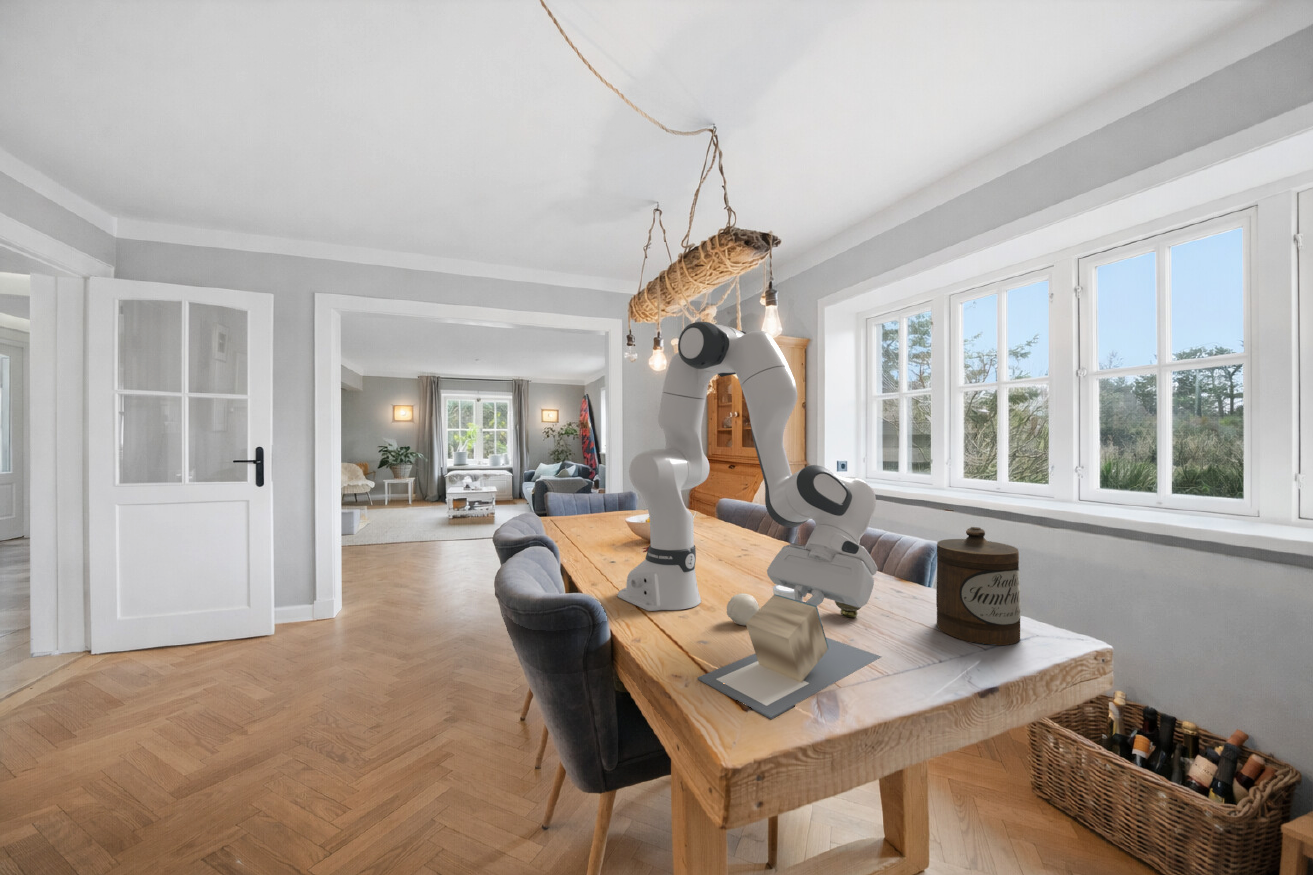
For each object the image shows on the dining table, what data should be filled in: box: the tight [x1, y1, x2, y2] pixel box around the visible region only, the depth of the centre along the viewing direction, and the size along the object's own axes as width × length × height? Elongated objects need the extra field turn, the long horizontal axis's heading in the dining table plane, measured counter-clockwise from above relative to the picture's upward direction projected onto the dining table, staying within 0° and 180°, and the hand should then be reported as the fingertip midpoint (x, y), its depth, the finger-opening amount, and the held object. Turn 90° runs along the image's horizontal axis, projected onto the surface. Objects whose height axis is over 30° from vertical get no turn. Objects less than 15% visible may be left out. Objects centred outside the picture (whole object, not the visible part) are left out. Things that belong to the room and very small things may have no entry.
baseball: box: [726, 593, 760, 627], centre depth 111 cm, size 7×7×7 cm
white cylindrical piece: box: [772, 584, 804, 602], centre depth 115 cm, size 7×7×7 cm
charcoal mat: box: [697, 636, 883, 720], centre depth 90 cm, size 32×16×1 cm, turn 128°
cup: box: [834, 601, 861, 619], centre depth 115 cm, size 8×7×8 cm
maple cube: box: [745, 593, 829, 682], centre depth 89 cm, size 9×9×9 cm
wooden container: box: [935, 526, 1021, 646], centre depth 105 cm, size 15×15×22 cm
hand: (799, 612), depth 91 cm, fingers closed
